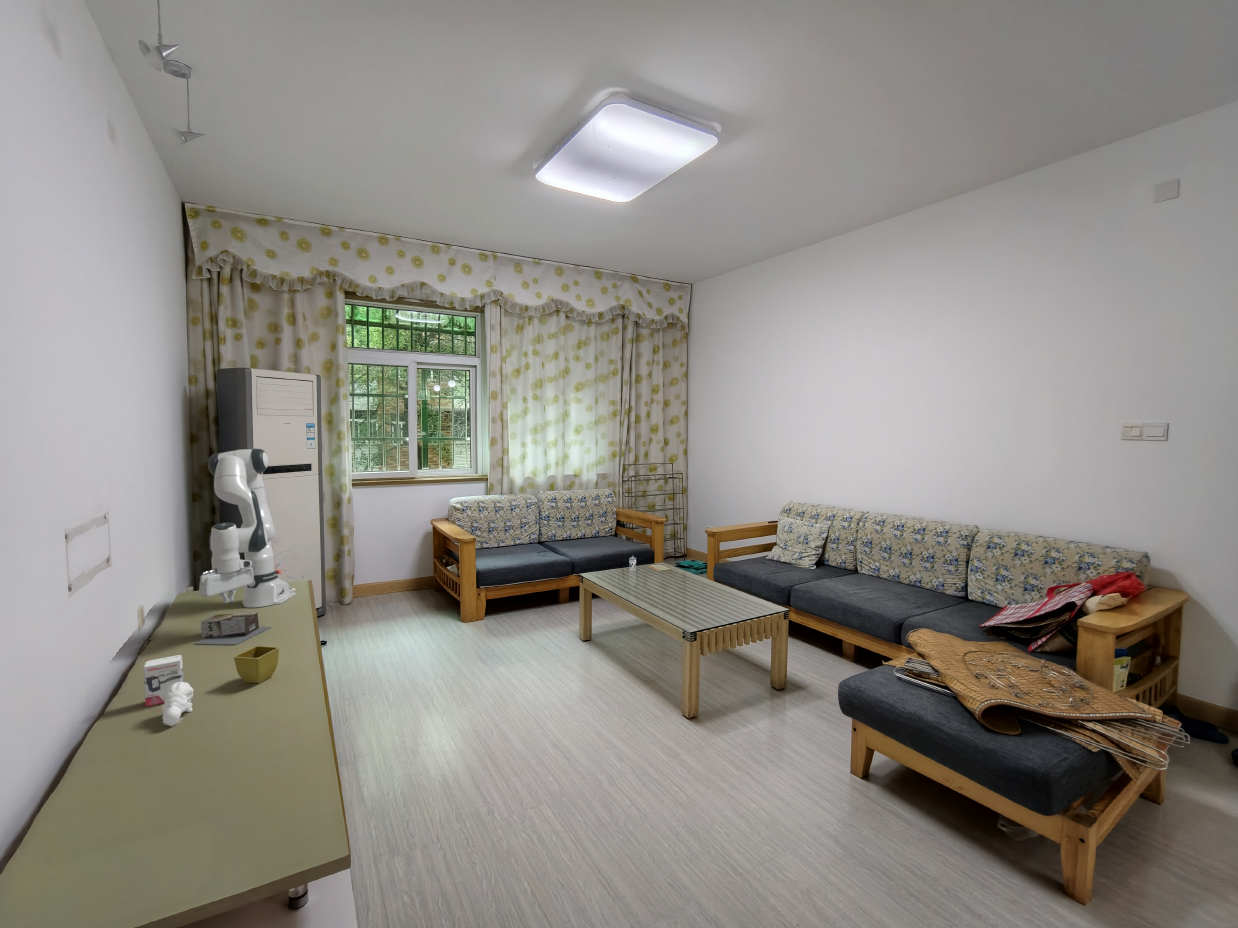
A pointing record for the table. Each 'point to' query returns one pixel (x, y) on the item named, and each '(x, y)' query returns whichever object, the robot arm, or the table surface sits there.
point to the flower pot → (257, 663)
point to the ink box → (161, 677)
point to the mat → (230, 638)
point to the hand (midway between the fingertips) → (228, 601)
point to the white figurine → (176, 702)
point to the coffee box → (229, 625)
